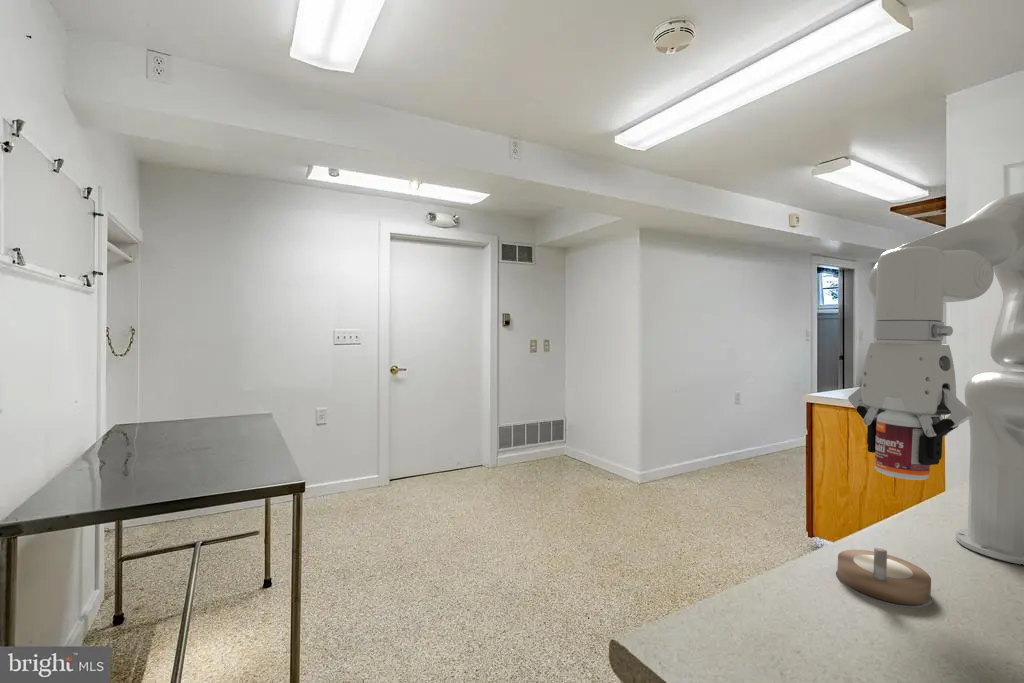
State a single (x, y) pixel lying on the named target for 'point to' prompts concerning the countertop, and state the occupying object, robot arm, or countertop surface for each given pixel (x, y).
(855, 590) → the base
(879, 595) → the turntable
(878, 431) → the pill bottle
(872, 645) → the countertop surface
